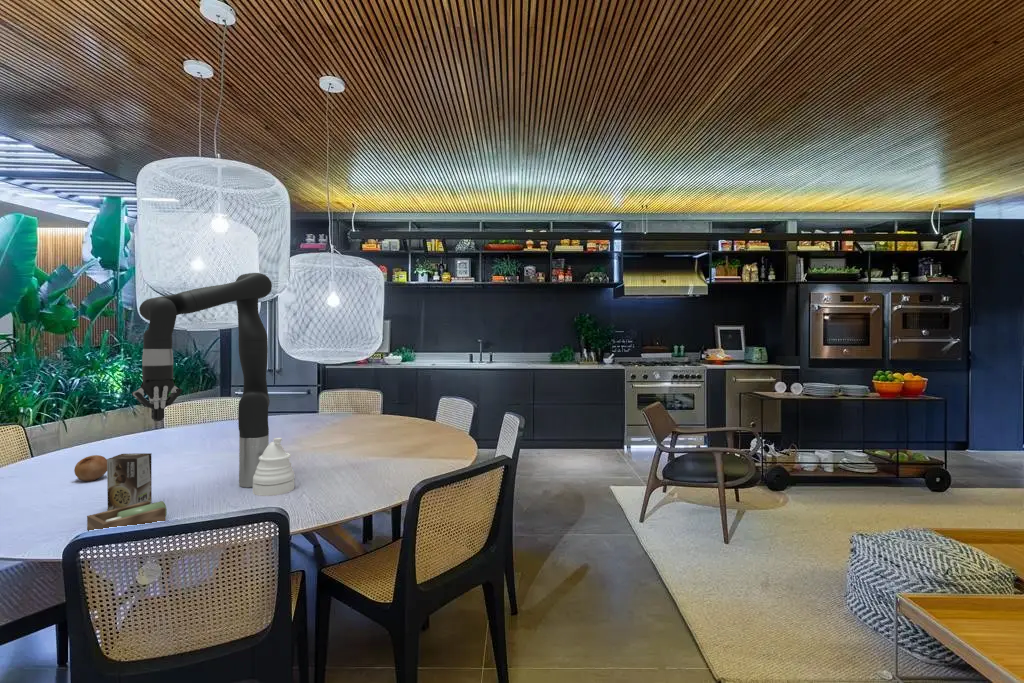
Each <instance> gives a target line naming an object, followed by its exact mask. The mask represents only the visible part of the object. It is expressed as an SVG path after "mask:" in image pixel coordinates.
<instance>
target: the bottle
mask: <svg viewBox="0 0 1024 683" xmlns="http://www.w3.org/2000/svg"><path fill="white" fill-rule="evenodd" d="M162 507H164V508H165V518H166V517H167V514H168V513H167V510H168V508H167V506H166V503H165V502H164V501H162V500H161V501H157V502H153V503H152V504H148V505H144V506H141V507H137V508H133V509H129V510H125V511H121V512H118V514H117V517H115V518H111V519H108V520H106V521H105V522H108V521H112V520H116V519H120V518H124V517H128V516H131V515H135V514H139V513H143V512H147V511H150V510H154V509H158V508H162Z"/></svg>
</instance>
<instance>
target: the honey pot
mask: <svg viewBox="0 0 1024 683" xmlns="http://www.w3.org/2000/svg"><path fill="white" fill-rule="evenodd" d="M282 441H283V438H282V437H274V438H273V441H271V442H269V445H268V446H267V447H266V449H265V451H264V452H263V454H262V455H261V456H260V457H259V460H260V461H259V464H258V466H257V467H256V468H257V469H256V471H255V474H254V476H253V487H252V494H253V495H254V496H258V497H259V496H260V497H273V496H280V495H284V494H287V493H290V492H292V491H293V490H294V489H295V471H294V470H293V467H292V463H291V461H290V458H291V456H292V454H291V453H289V452H286V450H285V448H284V447H283V445H282V444H281V443H282Z"/></svg>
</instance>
